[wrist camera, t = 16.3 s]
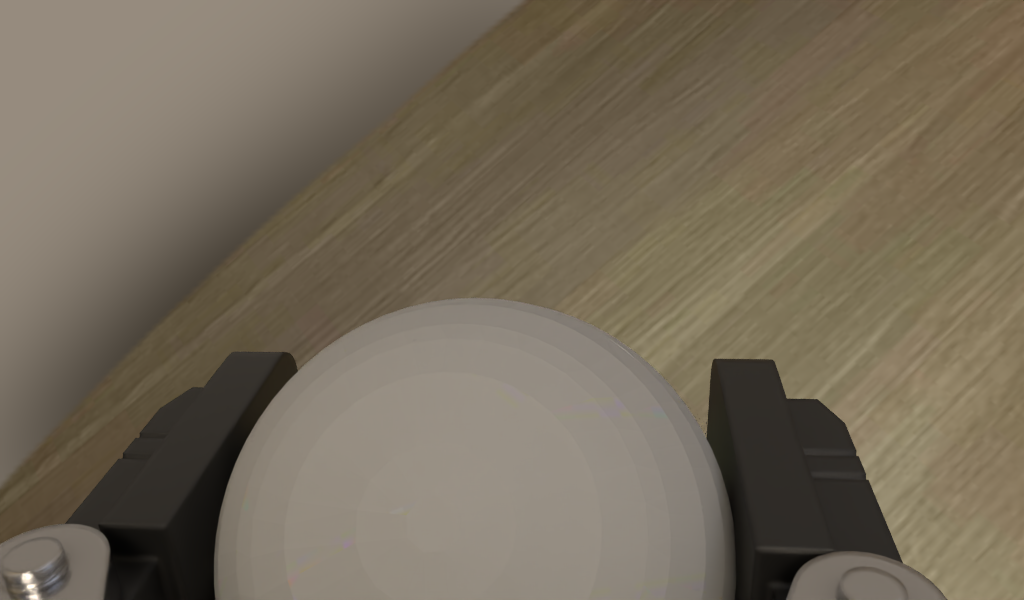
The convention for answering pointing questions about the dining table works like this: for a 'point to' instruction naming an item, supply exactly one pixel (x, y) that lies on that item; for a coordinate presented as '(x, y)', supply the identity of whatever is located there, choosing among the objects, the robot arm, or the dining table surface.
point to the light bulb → (476, 470)
